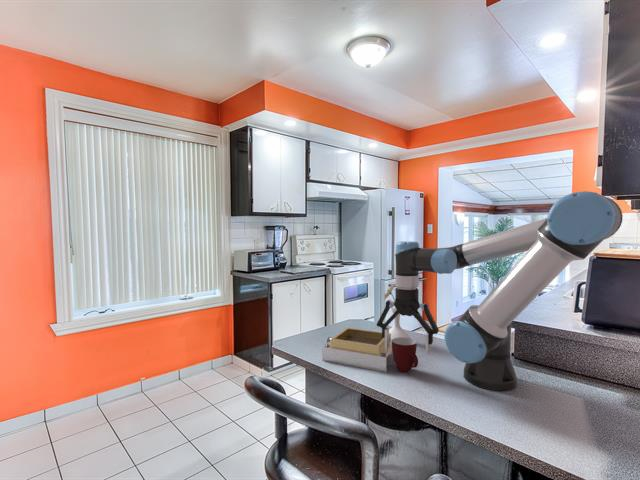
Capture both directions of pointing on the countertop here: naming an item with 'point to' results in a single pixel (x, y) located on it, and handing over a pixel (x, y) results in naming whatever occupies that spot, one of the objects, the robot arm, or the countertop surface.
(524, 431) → the countertop surface
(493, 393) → the countertop surface
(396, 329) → the flower in vase
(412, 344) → the mug
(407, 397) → the countertop surface
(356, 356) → the gold rimmed tray box
